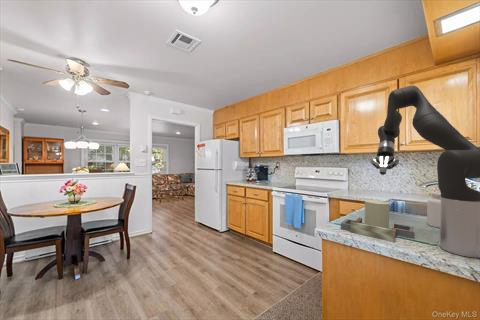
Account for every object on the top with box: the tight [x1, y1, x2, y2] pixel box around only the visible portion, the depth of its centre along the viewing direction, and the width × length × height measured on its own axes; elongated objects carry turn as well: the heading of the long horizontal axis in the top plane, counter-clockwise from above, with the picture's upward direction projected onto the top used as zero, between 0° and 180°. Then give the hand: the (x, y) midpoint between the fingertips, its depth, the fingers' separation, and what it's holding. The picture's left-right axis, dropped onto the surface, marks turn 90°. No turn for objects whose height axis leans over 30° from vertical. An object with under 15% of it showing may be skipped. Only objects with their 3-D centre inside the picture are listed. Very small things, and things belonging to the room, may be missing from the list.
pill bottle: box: [426, 192, 441, 229], centre depth 93 cm, size 8×8×15 cm
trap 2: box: [396, 223, 415, 239], centre depth 82 cm, size 5×8×2 cm, turn 139°
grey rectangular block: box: [364, 199, 390, 229], centre depth 89 cm, size 9×9×12 cm
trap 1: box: [340, 218, 357, 232], centre depth 89 cm, size 4×9×2 cm, turn 139°
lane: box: [349, 217, 399, 243], centre depth 85 cm, size 14×17×4 cm
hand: (382, 173), depth 104 cm, fingers closed
